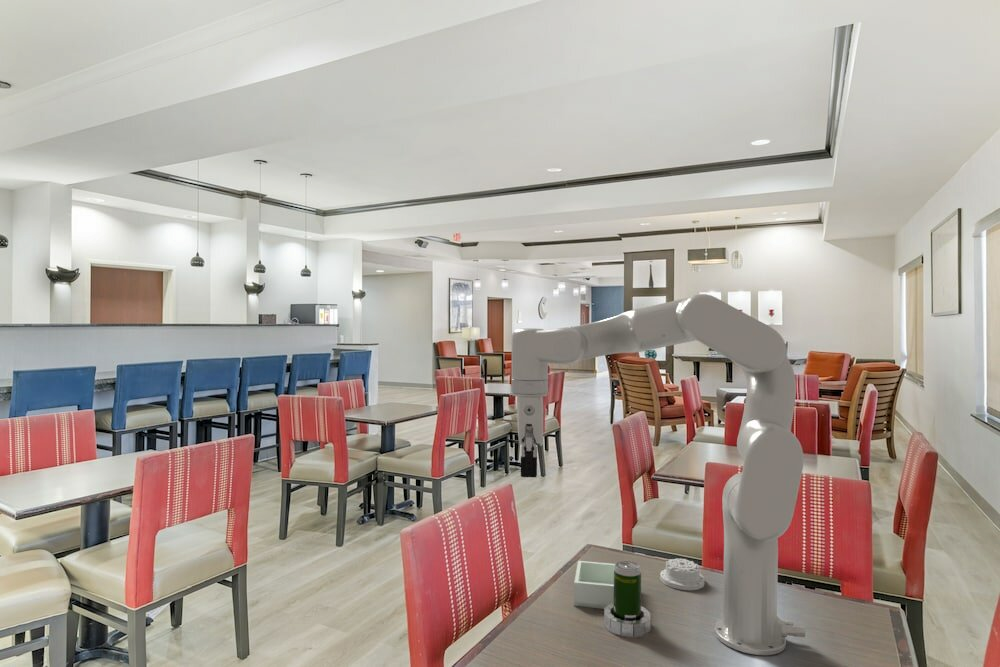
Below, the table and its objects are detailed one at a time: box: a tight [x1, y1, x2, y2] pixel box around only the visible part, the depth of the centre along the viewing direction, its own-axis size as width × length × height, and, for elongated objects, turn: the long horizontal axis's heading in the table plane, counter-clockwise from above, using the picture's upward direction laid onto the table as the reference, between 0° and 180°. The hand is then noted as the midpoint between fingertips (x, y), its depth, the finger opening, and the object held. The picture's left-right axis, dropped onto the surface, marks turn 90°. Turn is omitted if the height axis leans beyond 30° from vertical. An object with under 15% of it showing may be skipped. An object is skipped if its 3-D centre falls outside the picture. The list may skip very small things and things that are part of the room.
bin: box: [573, 560, 615, 610], centre depth 130 cm, size 12×12×5 cm
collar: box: [603, 603, 652, 638], centre depth 117 cm, size 9×9×2 cm
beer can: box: [613, 560, 642, 621], centre depth 117 cm, size 5×5×12 cm
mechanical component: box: [659, 557, 705, 591], centre depth 138 cm, size 10×4×10 cm
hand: (528, 470), depth 121 cm, fingers open, 9 cm apart
